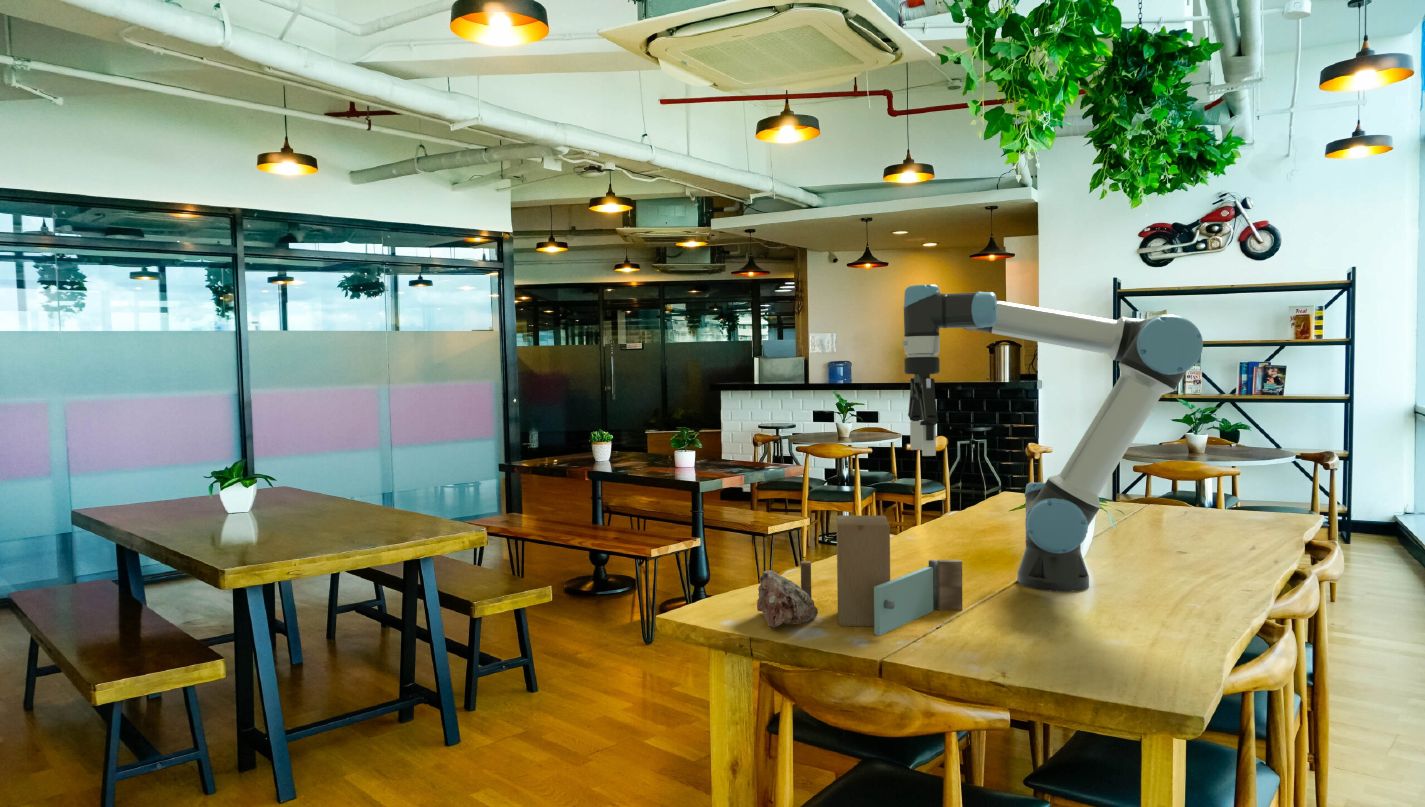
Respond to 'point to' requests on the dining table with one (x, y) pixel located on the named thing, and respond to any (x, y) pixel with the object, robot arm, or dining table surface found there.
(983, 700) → the dining table surface
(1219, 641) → the dining table surface
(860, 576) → the wooden block
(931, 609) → the door
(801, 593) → the rock
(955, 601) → the doorframe
